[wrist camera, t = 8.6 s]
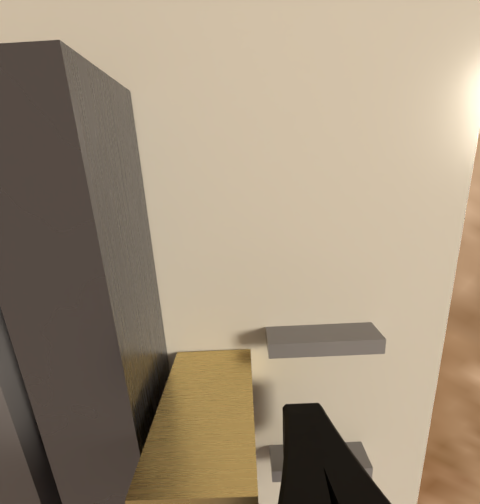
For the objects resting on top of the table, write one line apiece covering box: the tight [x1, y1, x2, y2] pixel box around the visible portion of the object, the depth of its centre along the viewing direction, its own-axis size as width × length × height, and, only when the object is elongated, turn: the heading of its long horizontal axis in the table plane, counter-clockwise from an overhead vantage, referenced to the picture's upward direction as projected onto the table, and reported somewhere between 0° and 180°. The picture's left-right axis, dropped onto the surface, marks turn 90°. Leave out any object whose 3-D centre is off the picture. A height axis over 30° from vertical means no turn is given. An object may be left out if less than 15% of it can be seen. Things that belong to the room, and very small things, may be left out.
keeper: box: [125, 349, 259, 504], centre depth 8 cm, size 4×2×4 cm, turn 3°
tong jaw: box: [0, 40, 170, 504], centre depth 8 cm, size 15×2×4 cm, turn 3°
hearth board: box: [0, 0, 480, 504], centre depth 9 cm, size 24×20×4 cm
